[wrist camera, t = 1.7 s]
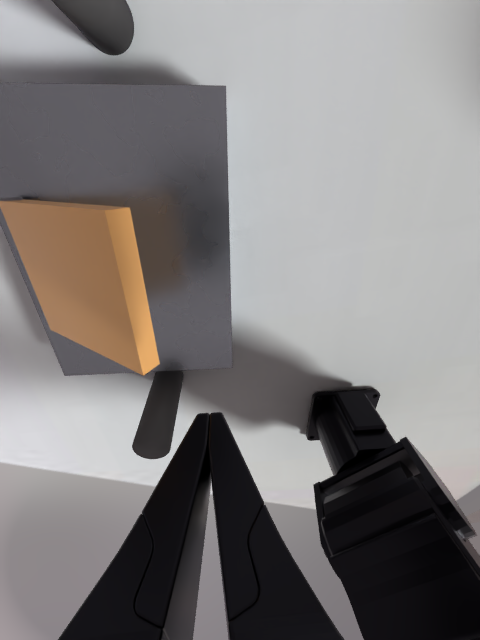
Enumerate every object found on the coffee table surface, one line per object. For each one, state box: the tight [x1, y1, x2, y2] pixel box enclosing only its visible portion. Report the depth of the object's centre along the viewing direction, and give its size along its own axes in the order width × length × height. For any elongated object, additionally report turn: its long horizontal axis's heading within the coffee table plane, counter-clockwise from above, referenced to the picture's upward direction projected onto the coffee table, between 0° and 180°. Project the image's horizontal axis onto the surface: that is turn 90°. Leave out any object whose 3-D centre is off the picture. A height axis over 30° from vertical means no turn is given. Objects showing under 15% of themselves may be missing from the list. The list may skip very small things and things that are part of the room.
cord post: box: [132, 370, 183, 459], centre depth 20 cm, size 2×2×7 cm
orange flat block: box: [0, 197, 160, 376], centre depth 13 cm, size 7×8×1 cm
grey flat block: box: [0, 83, 232, 376], centre depth 17 cm, size 16×12×3 cm
